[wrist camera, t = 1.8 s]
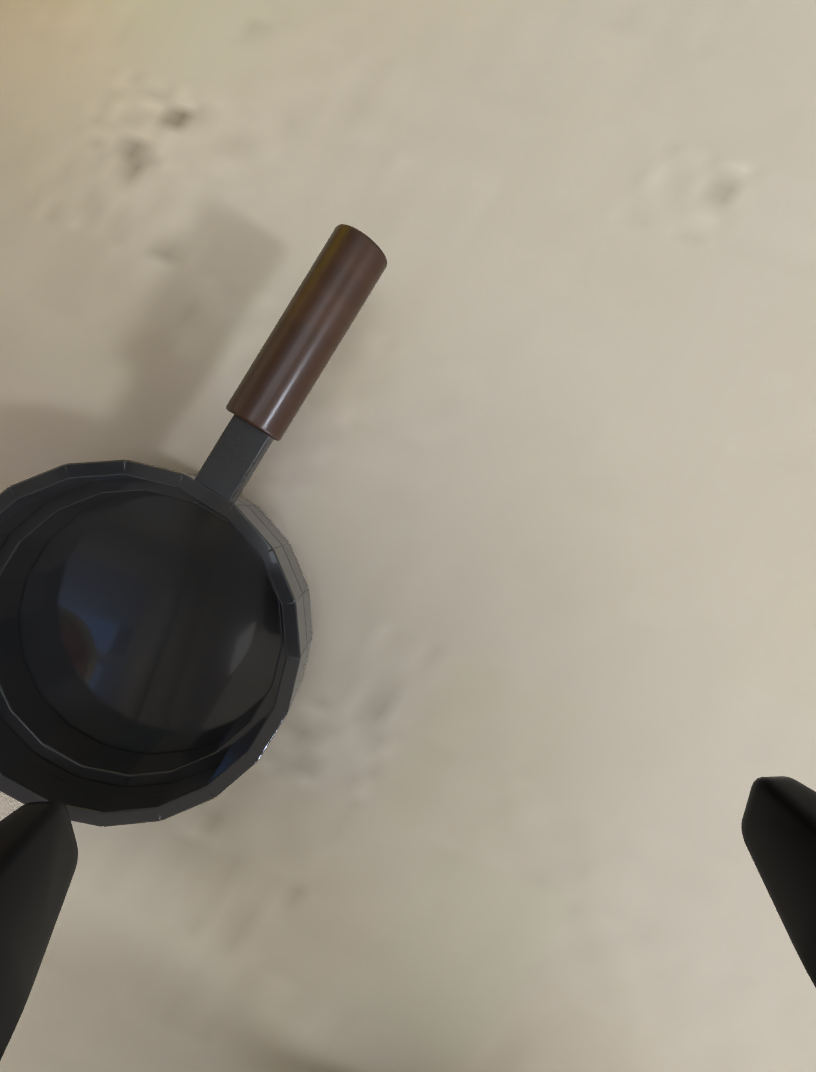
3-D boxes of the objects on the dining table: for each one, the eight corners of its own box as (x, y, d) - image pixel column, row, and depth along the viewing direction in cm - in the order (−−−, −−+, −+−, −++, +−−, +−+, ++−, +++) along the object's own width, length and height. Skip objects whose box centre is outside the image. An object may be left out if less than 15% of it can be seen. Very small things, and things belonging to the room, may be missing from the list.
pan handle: (243, 510, 20) (228, 510, 18) (193, 480, 20) (172, 476, 18) (387, 275, 20) (388, 248, 18) (338, 243, 20) (334, 212, 18)
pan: (213, 823, 23) (179, 889, 19) (-55, 673, 22) (-151, 709, 18) (368, 571, 23) (366, 584, 19) (105, 412, 22) (45, 389, 18)
